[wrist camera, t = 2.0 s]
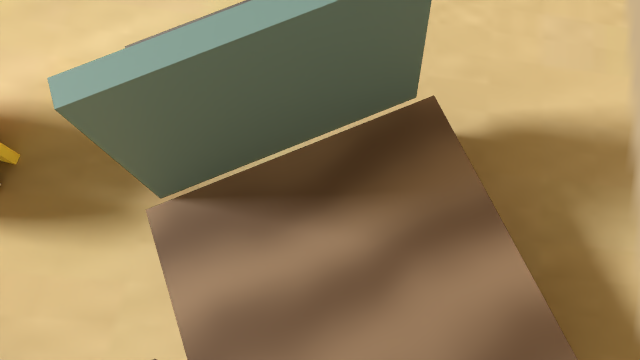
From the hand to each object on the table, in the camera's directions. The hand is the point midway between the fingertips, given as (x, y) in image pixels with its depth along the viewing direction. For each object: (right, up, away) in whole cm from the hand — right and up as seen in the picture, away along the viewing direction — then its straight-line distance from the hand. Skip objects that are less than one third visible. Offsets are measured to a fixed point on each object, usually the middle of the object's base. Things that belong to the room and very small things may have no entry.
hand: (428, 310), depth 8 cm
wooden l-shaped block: (0, -6, +24) cm, 25 cm away
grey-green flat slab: (-4, +5, +23) cm, 24 cm away
